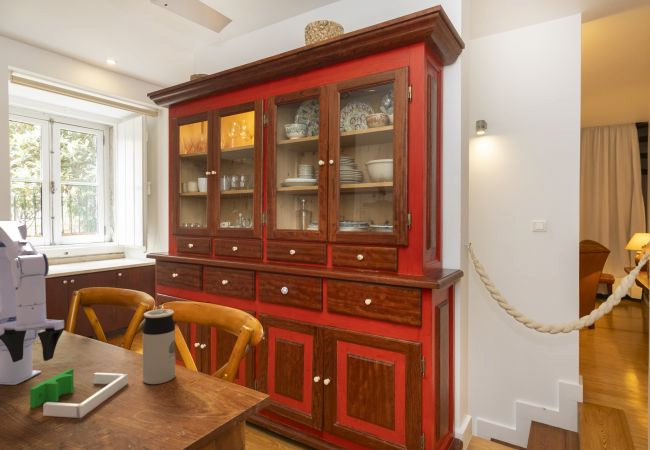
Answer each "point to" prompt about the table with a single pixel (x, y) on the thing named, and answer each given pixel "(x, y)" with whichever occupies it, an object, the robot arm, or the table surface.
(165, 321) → the travel mug
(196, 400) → the table surface
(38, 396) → the pipe clamp
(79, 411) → the white u-shaped frame
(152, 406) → the table surface
